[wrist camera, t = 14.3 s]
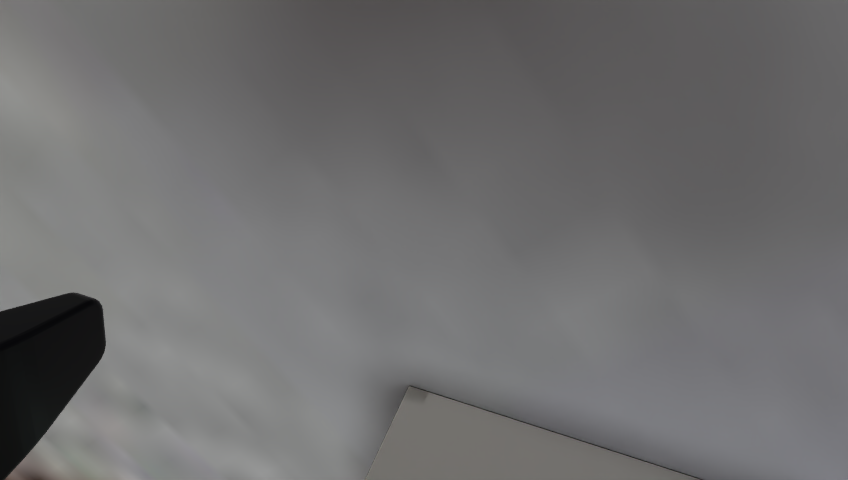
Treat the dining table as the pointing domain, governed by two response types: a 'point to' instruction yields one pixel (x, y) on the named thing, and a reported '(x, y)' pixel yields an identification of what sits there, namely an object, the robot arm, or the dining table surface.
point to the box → (491, 448)
